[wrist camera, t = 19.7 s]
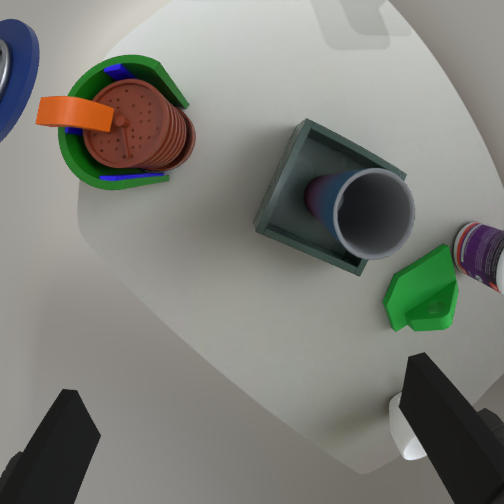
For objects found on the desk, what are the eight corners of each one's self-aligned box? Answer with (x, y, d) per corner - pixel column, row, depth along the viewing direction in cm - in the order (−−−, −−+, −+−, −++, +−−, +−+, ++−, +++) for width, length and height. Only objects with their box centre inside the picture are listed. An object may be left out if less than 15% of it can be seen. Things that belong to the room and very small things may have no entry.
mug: (423, 401, 46) (450, 440, 35) (384, 424, 47) (406, 467, 36) (411, 359, 44) (444, 401, 33) (367, 386, 44) (393, 434, 33)
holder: (253, 222, 37) (255, 231, 32) (296, 125, 34) (306, 118, 29) (344, 262, 39) (360, 276, 33) (385, 172, 36) (407, 174, 31)
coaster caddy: (195, 180, 36) (146, 191, 16) (124, 183, 35) (23, 201, 16) (196, 96, 33) (153, 24, 14) (125, 102, 33) (31, 54, 13)
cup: (307, 233, 37) (348, 273, 22) (287, 179, 35) (320, 185, 21) (358, 214, 37) (423, 241, 22) (340, 160, 35) (401, 156, 20)
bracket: (443, 243, 39) (471, 256, 32) (453, 287, 41) (479, 304, 34) (376, 285, 40) (398, 305, 33) (391, 327, 42) (412, 351, 35)
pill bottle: (446, 272, 40) (509, 309, 26) (454, 218, 38) (524, 241, 24) (481, 271, 40) (541, 304, 26) (489, 222, 38) (554, 243, 24)
